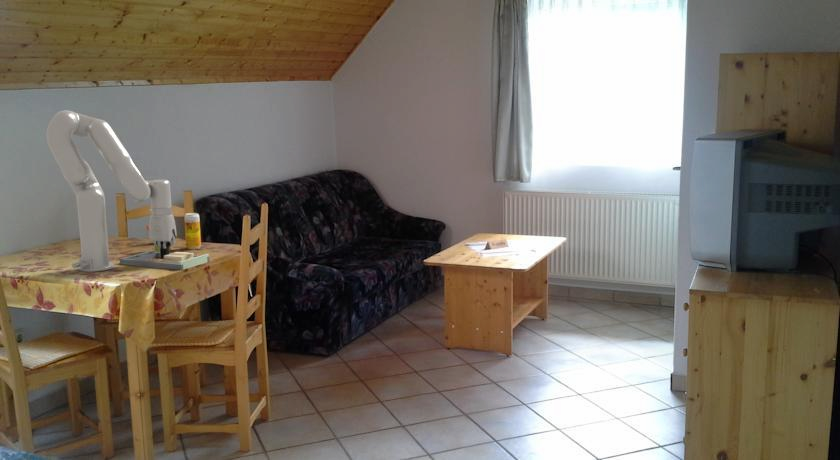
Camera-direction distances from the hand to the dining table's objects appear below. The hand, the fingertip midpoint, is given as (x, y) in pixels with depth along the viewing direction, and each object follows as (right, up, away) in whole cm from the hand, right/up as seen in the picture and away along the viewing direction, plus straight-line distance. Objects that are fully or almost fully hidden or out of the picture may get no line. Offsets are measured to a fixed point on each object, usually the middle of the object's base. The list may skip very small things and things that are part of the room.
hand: (165, 258), depth 300 cm
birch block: (+6, -2, -1) cm, 6 cm away
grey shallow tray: (0, -2, 0) cm, 2 cm away
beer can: (+3, +3, +29) cm, 29 cm away
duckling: (-16, +5, +41) cm, 45 cm away
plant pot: (-9, +2, +23) cm, 25 cm away
